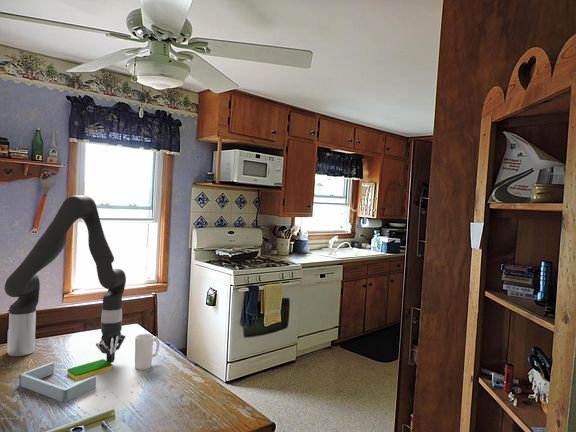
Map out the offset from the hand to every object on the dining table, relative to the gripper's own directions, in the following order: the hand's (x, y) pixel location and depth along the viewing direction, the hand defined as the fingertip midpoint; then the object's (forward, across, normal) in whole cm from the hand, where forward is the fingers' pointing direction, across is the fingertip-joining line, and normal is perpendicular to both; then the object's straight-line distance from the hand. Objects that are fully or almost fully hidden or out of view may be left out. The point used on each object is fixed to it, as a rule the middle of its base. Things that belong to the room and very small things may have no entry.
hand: (110, 362), depth 159 cm
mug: (+1, -6, +13) cm, 14 cm away
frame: (+1, +22, 0) cm, 22 cm away
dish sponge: (+1, +8, -1) cm, 9 cm away
